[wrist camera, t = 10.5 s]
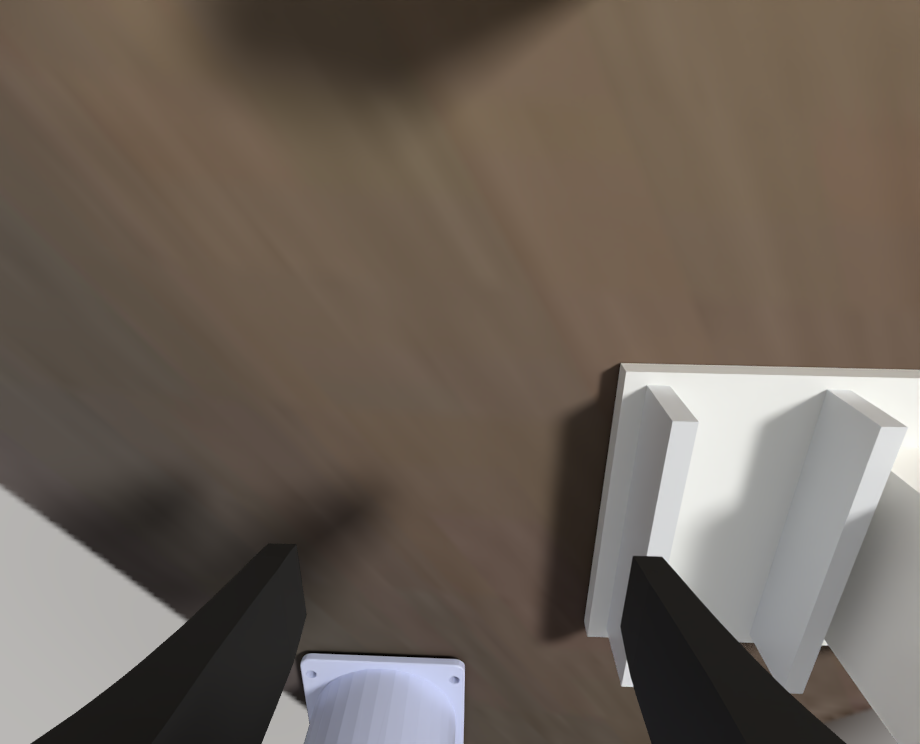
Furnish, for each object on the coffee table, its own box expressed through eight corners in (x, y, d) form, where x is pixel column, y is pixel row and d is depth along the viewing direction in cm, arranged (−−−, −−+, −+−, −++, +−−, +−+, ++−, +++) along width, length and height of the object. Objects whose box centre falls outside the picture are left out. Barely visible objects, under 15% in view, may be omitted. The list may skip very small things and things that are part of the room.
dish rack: (914, 634, 24) (982, 709, 21) (584, 621, 24) (599, 694, 21) (1041, 372, 19) (1159, 418, 15) (620, 363, 19) (649, 406, 16)
